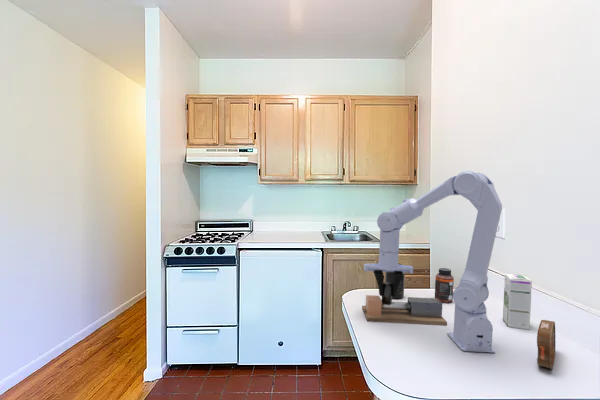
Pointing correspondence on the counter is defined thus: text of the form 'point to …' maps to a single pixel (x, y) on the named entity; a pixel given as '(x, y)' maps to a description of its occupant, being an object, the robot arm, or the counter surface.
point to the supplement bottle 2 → (444, 285)
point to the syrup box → (517, 301)
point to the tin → (546, 343)
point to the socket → (373, 304)
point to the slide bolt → (388, 302)
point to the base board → (402, 317)
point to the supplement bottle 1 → (400, 288)
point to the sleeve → (425, 307)
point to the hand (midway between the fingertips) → (386, 295)
